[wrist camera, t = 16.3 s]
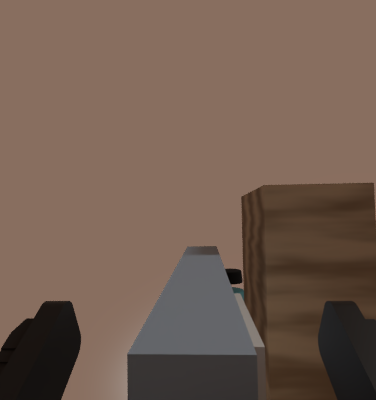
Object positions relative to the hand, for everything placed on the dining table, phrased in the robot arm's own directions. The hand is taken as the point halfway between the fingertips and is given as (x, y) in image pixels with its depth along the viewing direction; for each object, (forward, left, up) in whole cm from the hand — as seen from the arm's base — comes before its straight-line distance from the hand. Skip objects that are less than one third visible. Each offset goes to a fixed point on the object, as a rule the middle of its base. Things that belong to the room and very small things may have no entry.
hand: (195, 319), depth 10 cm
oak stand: (-12, +28, -26) cm, 40 cm away
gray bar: (-10, +9, -4) cm, 14 cm away
